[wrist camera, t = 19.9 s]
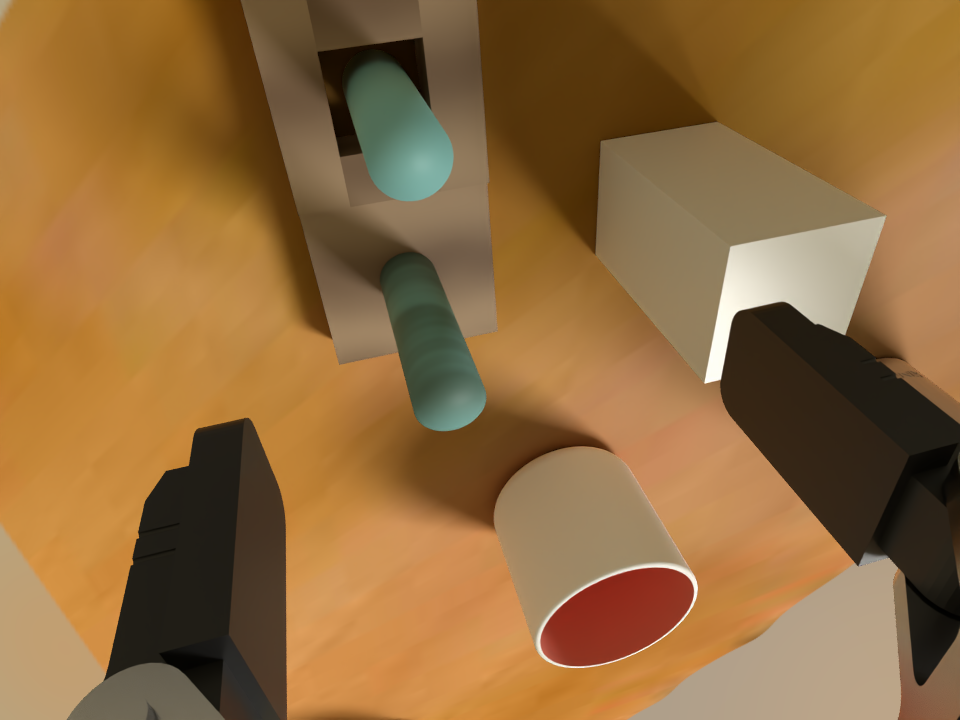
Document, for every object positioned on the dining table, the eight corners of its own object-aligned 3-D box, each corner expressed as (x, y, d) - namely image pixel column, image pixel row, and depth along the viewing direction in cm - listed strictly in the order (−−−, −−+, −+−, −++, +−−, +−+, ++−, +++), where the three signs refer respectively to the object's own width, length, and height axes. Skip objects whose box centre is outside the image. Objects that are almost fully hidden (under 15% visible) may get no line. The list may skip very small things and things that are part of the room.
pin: (408, 115, 27) (454, 197, 20) (345, 119, 27) (370, 205, 20) (404, 48, 26) (452, 112, 19) (338, 50, 25) (362, 117, 18)
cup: (583, 542, 49) (641, 667, 41) (466, 533, 45) (506, 670, 37) (651, 447, 44) (731, 568, 37) (527, 426, 40) (588, 558, 32)
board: (487, 310, 34) (558, 455, 25) (336, 341, 33) (358, 505, 24) (475, 163, 29) (559, 282, 21) (297, 193, 28) (307, 333, 19)
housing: (700, 234, 35) (839, 352, 26) (595, 254, 34) (704, 383, 25) (717, 121, 31) (886, 215, 22) (600, 140, 30) (730, 246, 21)
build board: (475, 163, 29) (489, 182, 27) (297, 193, 28) (298, 216, 26) (458, -44, 24) (474, -38, 22) (241, -18, 23) (238, -9, 21)
